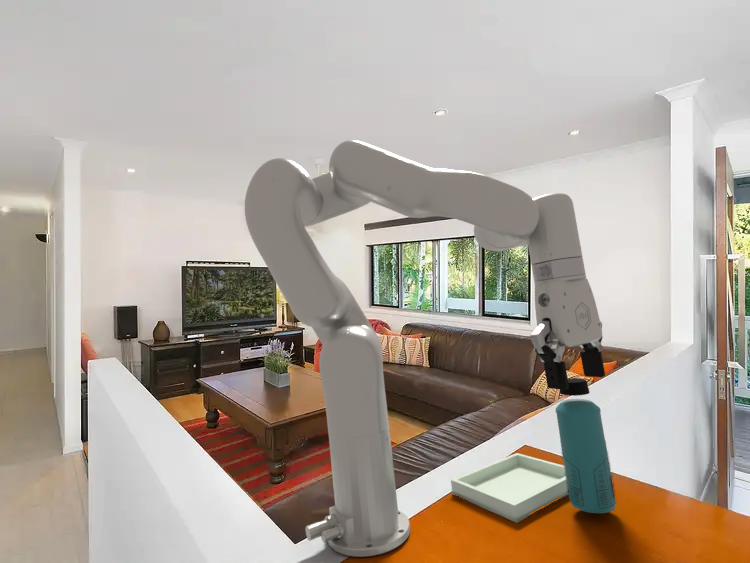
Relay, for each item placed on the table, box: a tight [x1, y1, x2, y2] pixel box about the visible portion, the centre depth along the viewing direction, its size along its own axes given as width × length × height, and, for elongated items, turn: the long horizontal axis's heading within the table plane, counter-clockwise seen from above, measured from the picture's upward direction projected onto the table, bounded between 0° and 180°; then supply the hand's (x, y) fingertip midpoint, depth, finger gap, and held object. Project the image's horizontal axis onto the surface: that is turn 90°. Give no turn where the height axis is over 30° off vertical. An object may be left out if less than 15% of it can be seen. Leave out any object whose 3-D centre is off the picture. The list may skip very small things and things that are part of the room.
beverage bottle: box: [555, 377, 617, 514], centre depth 62 cm, size 6×7×20 cm
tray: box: [450, 452, 568, 524], centre depth 71 cm, size 18×14×2 cm
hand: (577, 382), depth 63 cm, fingers open, 9 cm apart
